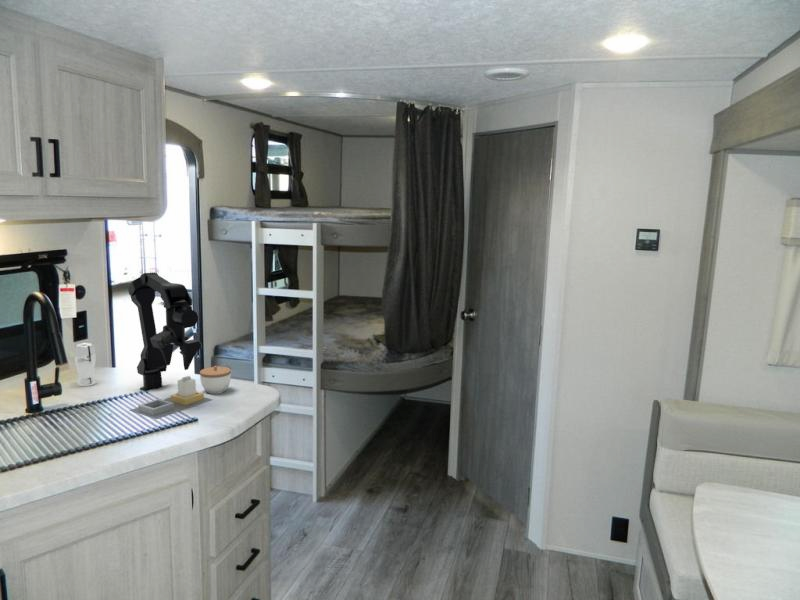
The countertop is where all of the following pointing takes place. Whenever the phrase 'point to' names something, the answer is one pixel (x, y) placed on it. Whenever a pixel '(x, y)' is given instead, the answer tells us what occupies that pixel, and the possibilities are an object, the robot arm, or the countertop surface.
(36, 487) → the countertop surface
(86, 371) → the beer glass
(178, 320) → the robot arm
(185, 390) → the plug
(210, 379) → the lidded jar
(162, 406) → the multicoloured flat piece
